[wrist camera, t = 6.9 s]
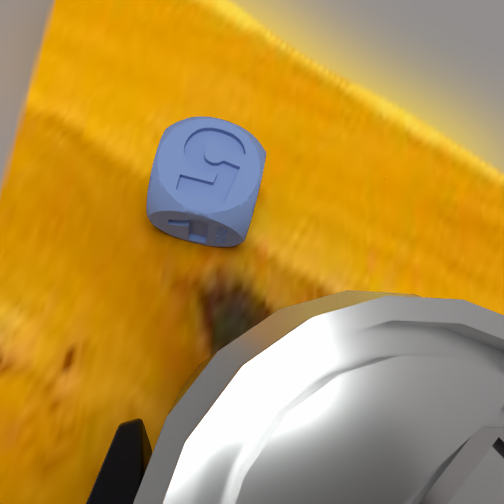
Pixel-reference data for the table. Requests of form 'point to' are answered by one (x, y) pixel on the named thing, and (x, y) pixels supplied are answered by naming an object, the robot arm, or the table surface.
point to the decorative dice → (205, 181)
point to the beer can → (342, 409)
